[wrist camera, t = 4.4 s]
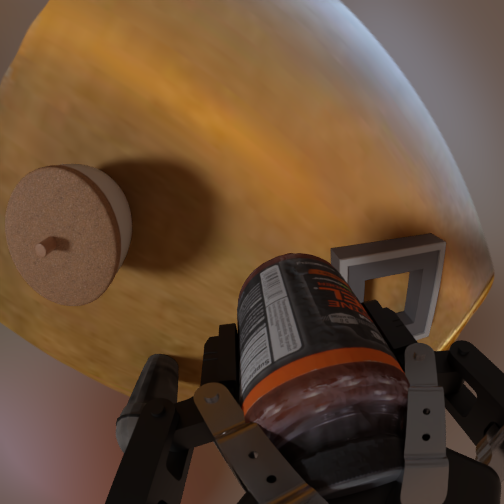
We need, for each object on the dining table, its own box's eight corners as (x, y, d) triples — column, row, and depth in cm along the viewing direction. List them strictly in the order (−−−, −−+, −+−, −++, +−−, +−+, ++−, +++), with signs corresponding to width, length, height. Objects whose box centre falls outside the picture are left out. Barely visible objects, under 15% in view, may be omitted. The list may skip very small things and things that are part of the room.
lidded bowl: (36, 192, 27) (-25, 220, 17) (114, 133, 26) (56, 136, 15) (86, 281, 31) (42, 333, 21) (168, 238, 30) (138, 289, 20)
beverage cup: (136, 375, 38) (102, 494, 19) (139, 340, 35) (94, 472, 16) (184, 387, 39) (169, 510, 20) (192, 354, 36) (174, 494, 18)
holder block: (330, 248, 32) (340, 260, 29) (431, 233, 32) (446, 242, 29) (330, 344, 37) (337, 361, 34) (417, 323, 37) (428, 336, 34)
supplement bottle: (363, 281, 16) (475, 448, 5) (299, 353, 17) (345, 524, 7) (278, 225, 14) (371, 446, 4) (215, 314, 16) (206, 523, 5)
